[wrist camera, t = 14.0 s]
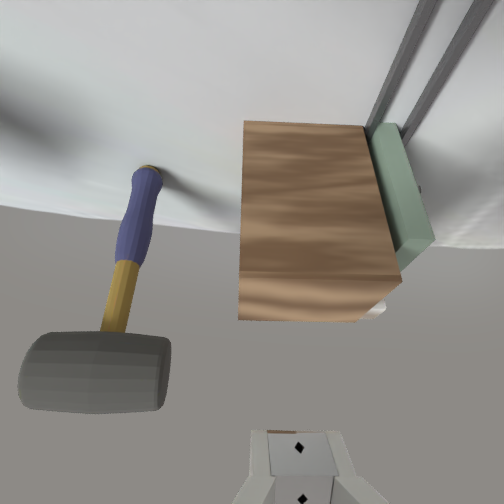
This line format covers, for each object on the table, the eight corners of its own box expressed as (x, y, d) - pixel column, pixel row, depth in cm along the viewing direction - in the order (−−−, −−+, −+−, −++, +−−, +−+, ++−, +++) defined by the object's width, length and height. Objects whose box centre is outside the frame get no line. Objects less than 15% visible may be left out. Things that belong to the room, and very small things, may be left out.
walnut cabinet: (243, 120, 36) (239, 277, 26) (397, 127, 36) (450, 282, 26) (241, 207, 50) (238, 329, 40) (352, 210, 50) (375, 332, 41)
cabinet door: (374, 122, 36) (408, 238, 28) (403, 123, 36) (446, 239, 28) (336, 204, 49) (352, 299, 41) (358, 205, 49) (378, 299, 41)
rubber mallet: (194, 157, 41) (158, 413, 26) (194, 194, 47) (166, 415, 32) (95, 145, 39) (-4, 411, 24) (109, 185, 45) (39, 414, 31)
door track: (446, -62, 22) (451, -56, 22) (517, -57, 22) (524, -51, 22) (332, 201, 48) (333, 207, 48) (365, 202, 49) (367, 208, 48)
